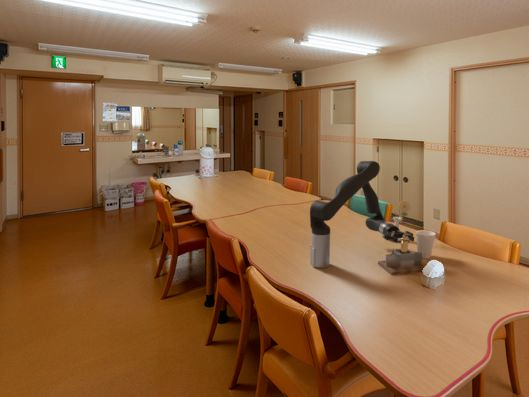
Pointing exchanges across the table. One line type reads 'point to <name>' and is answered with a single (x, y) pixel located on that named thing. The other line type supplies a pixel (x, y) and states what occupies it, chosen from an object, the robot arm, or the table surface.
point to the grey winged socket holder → (403, 259)
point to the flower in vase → (403, 207)
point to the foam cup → (425, 242)
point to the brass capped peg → (404, 244)
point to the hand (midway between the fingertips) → (405, 240)
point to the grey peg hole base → (397, 270)
